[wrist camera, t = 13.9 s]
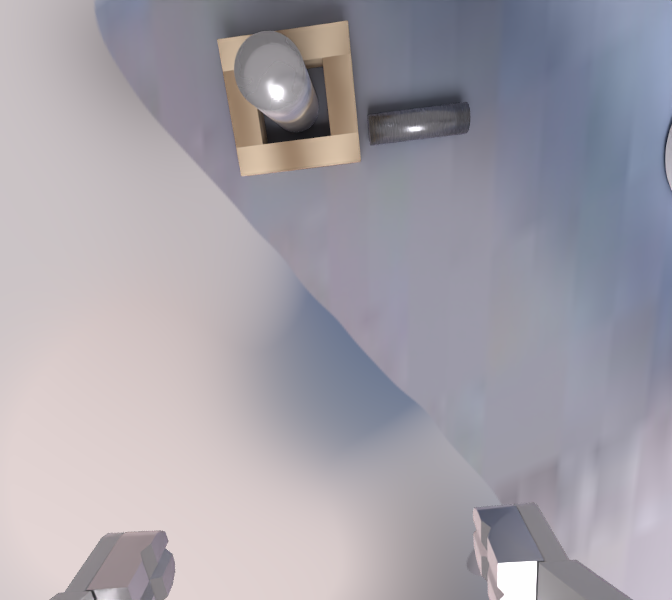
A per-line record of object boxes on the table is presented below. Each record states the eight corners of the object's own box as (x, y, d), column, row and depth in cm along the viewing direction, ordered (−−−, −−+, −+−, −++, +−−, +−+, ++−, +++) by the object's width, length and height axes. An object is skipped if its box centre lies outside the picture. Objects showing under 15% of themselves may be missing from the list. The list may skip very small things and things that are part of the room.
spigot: (315, 77, 33) (299, 25, 22) (321, 129, 35) (309, 105, 23) (268, 84, 34) (227, 36, 22) (276, 135, 35) (241, 114, 23)
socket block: (347, 31, 32) (347, 20, 30) (359, 162, 35) (360, 160, 33) (226, 49, 33) (217, 39, 31) (248, 175, 36) (241, 175, 33)
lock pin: (460, 111, 34) (467, 95, 32) (464, 138, 34) (471, 124, 32) (367, 123, 35) (367, 108, 33) (370, 150, 35) (371, 137, 32)
